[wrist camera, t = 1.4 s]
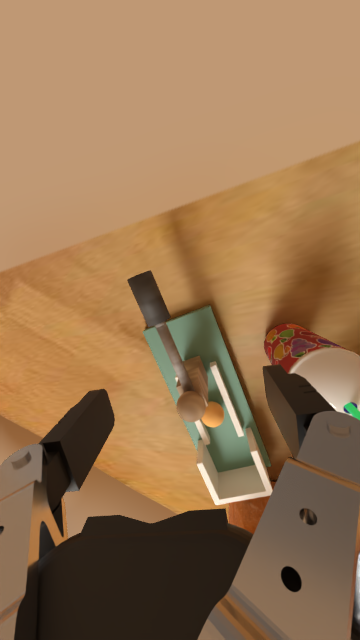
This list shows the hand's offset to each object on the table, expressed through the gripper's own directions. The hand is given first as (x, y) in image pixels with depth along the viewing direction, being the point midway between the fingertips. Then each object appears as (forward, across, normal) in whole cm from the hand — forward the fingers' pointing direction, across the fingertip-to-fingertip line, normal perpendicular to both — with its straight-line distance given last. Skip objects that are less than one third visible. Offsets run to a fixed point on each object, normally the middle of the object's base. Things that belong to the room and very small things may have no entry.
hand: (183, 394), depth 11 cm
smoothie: (+26, -13, +8) cm, 30 cm away
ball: (+22, 0, +18) cm, 29 cm away
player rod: (+24, +3, +3) cm, 24 cm away
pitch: (+26, 0, +17) cm, 31 cm away
